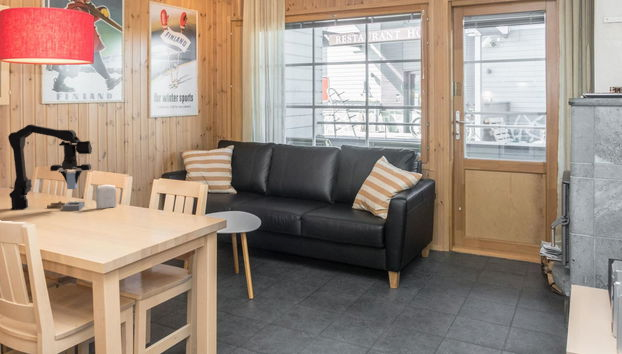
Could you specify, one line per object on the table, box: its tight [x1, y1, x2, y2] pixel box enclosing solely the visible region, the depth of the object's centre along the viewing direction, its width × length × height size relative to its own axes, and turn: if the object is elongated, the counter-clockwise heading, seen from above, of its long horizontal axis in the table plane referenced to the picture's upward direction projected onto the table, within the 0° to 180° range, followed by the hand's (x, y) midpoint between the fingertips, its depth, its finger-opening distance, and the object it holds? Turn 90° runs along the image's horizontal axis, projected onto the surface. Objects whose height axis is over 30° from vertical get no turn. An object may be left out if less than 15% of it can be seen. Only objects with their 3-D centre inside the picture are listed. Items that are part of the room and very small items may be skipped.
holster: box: [46, 200, 66, 209], centre depth 276 cm, size 9×15×2 cm, turn 11°
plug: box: [66, 170, 78, 190], centre depth 268 cm, size 4×4×9 cm
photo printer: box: [95, 184, 117, 210], centre depth 272 cm, size 10×4×12 cm, turn 134°
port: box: [62, 200, 85, 212], centre depth 269 cm, size 8×12×3 cm, turn 11°
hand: (72, 183), depth 268 cm, fingers closed on plug, 4 cm apart
